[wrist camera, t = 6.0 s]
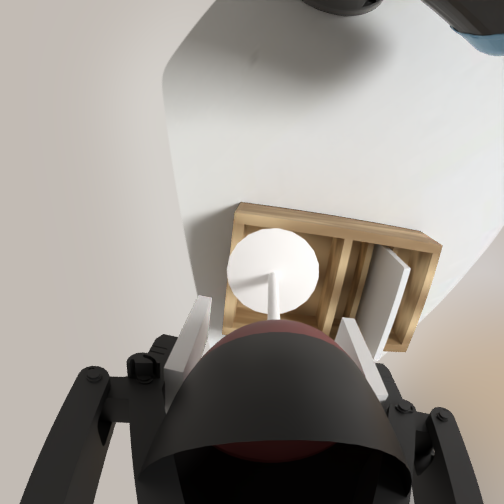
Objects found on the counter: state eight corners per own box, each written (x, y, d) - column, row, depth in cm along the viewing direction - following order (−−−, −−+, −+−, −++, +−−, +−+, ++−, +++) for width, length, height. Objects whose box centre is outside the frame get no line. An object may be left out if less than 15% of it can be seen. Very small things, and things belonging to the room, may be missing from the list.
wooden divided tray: (240, 202, 41) (234, 212, 35) (420, 231, 40) (442, 245, 34) (229, 308, 46) (222, 334, 40) (391, 327, 46) (405, 352, 39)
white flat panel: (374, 238, 40) (404, 267, 30) (379, 239, 40) (410, 268, 30) (354, 315, 44) (373, 360, 34) (359, 316, 44) (378, 360, 34)
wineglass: (222, 315, 27) (159, 538, 8) (227, 216, 24) (103, 410, 5) (313, 323, 27) (354, 547, 8) (328, 225, 24) (465, 423, 5)
